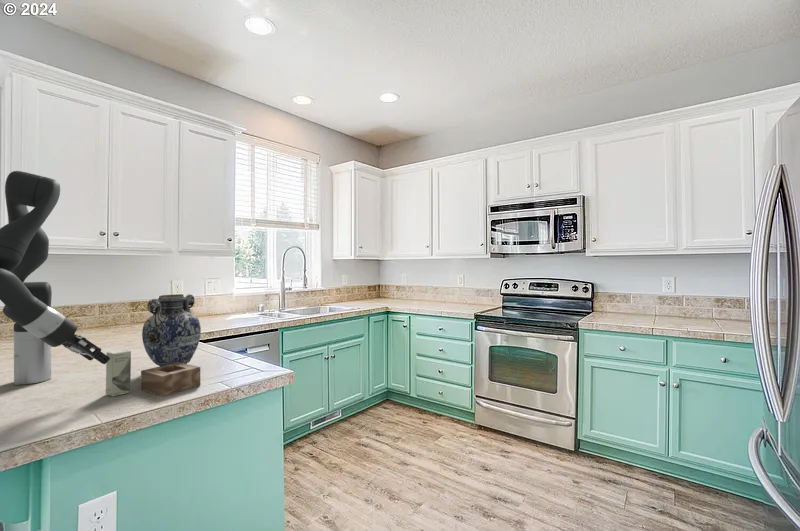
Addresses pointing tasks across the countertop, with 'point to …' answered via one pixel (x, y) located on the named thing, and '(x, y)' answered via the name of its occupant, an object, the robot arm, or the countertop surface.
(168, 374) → the holder block
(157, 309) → the decorative vase
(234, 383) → the countertop surface
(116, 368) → the box
